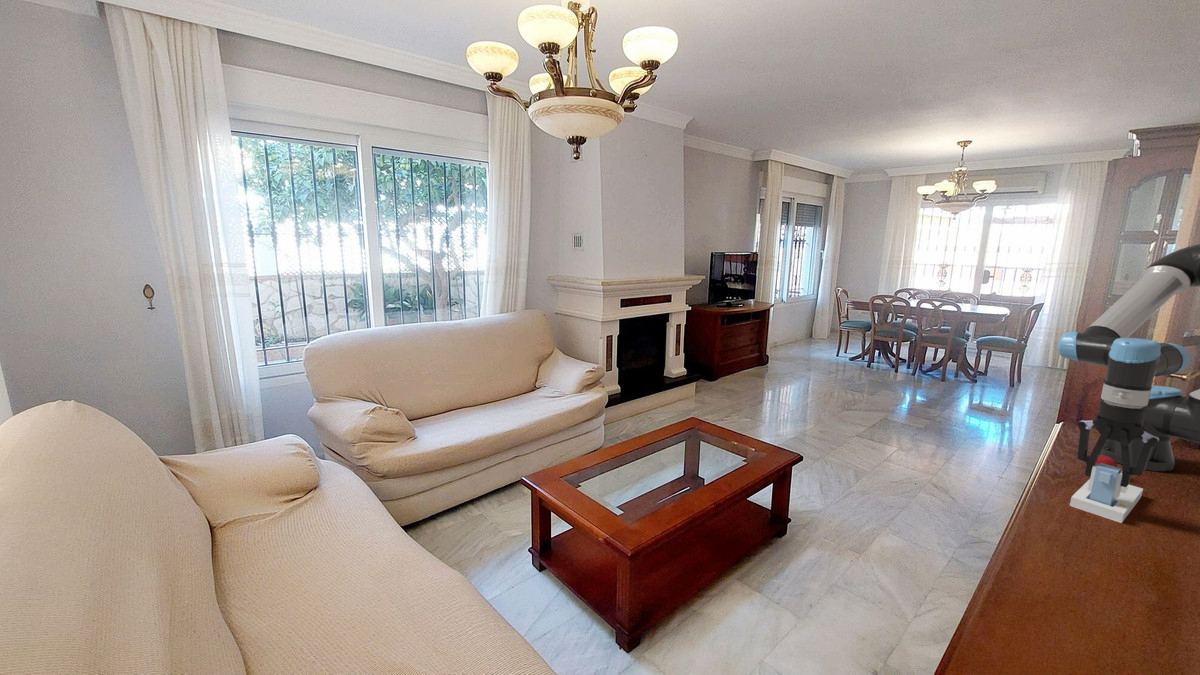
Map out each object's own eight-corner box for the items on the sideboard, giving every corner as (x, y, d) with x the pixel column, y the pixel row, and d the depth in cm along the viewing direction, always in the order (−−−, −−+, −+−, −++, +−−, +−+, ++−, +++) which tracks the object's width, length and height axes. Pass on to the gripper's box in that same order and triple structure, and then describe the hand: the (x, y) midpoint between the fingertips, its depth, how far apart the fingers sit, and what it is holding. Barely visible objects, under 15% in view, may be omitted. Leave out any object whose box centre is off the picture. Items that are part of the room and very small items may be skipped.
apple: (1096, 483, 130) (1101, 461, 129) (1072, 469, 138) (1077, 448, 136) (1130, 485, 129) (1135, 463, 127) (1104, 471, 136) (1108, 450, 135)
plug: (1092, 499, 119) (1100, 462, 117) (1113, 505, 116) (1121, 468, 114) (1087, 504, 117) (1095, 467, 115) (1108, 511, 114) (1116, 473, 112)
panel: (1091, 484, 129) (1094, 473, 129) (1140, 499, 122) (1143, 487, 121) (1069, 507, 119) (1071, 496, 118) (1121, 525, 111) (1123, 513, 111)
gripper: (1070, 397, 116) (1053, 483, 121) (1174, 417, 103) (1150, 513, 107) (1079, 391, 120) (1062, 475, 125) (1180, 410, 107) (1157, 503, 111)
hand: (1103, 492), depth 116 cm, fingers closed on plug, 4 cm apart
